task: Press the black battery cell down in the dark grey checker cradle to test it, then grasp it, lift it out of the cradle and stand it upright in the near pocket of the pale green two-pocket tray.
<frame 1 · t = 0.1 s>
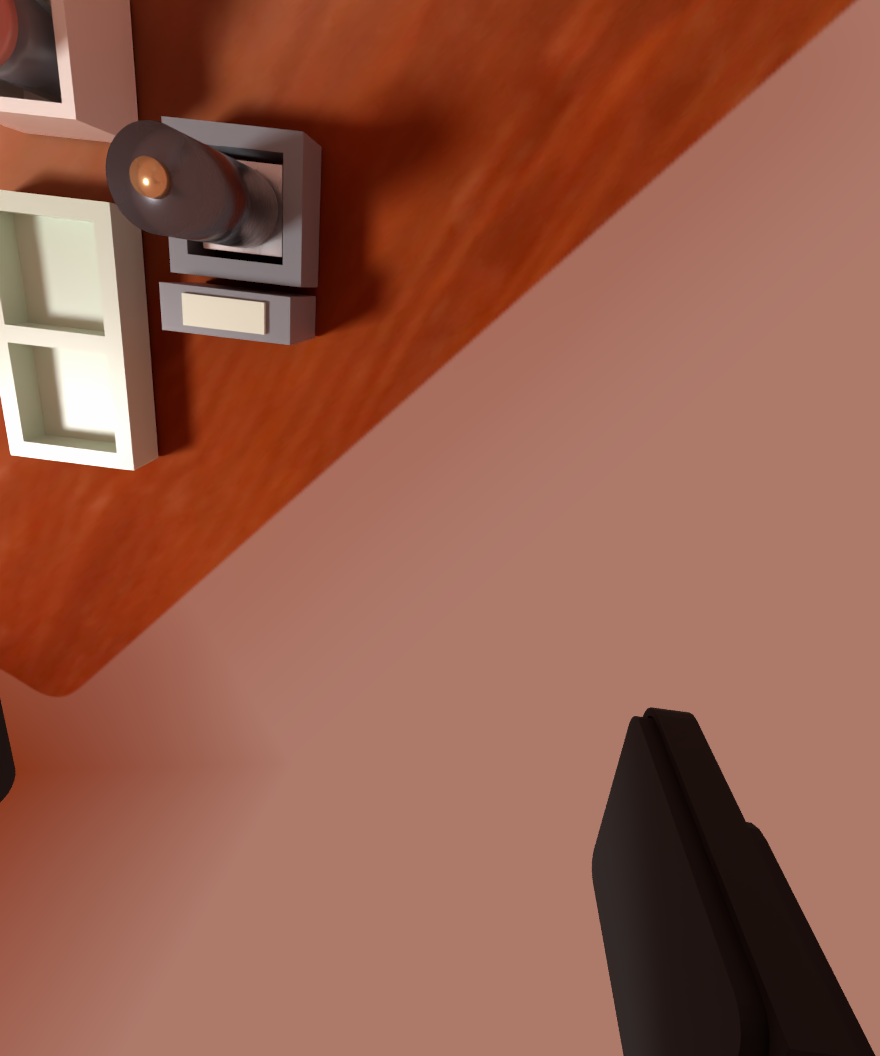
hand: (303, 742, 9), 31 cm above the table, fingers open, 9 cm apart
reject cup: (75, 68, 32), on the table
tray: (87, 335, 38), on the table
pad: (247, 209, 33), point 2 cm above the table, slide at -0.1 cm, touching cell
cell: (241, 207, 32), point 2 cm above the table, touching pad
cradle: (257, 212, 34), on the table
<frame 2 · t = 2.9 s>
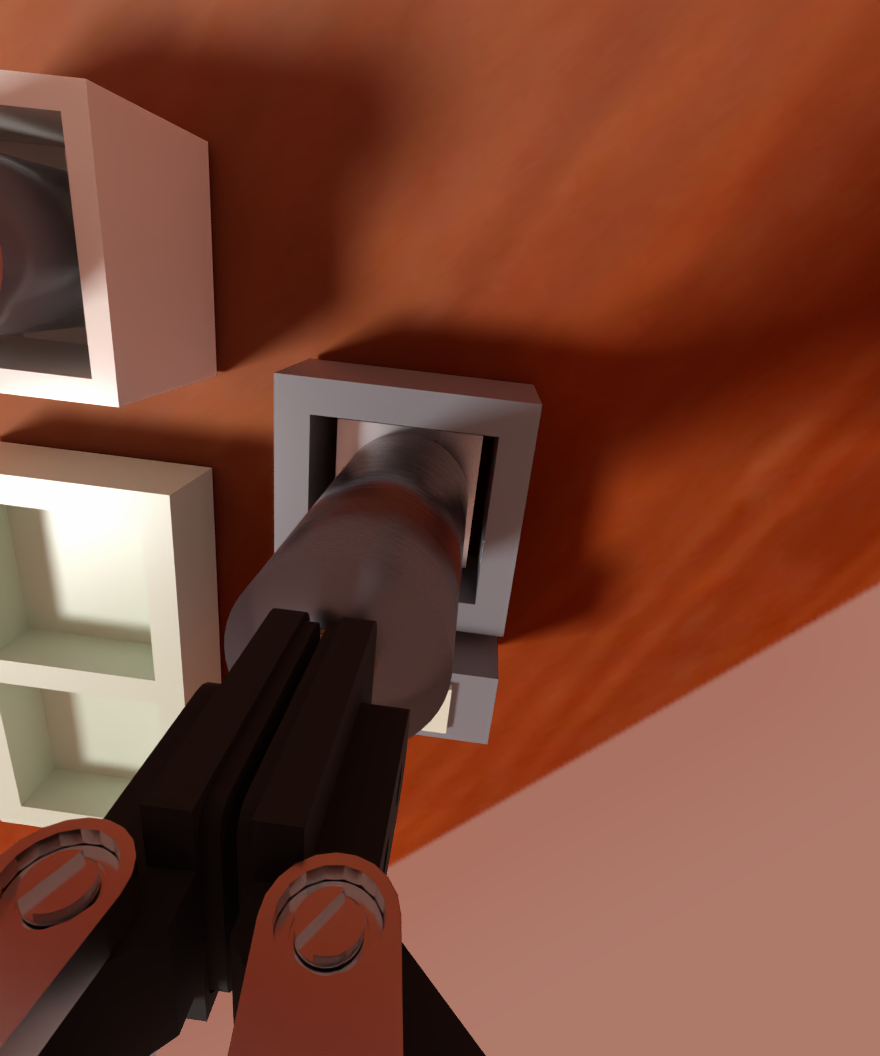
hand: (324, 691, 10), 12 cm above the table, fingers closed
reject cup: (108, 254, 18), on the table
tray: (121, 635, 24), on the table
pad: (407, 488, 19), point 1 cm above the table, slide at -0.6 cm, touching cell
cell: (404, 496, 19), point 2 cm above the table, touching gripper, pad
cradle: (411, 478, 20), on the table
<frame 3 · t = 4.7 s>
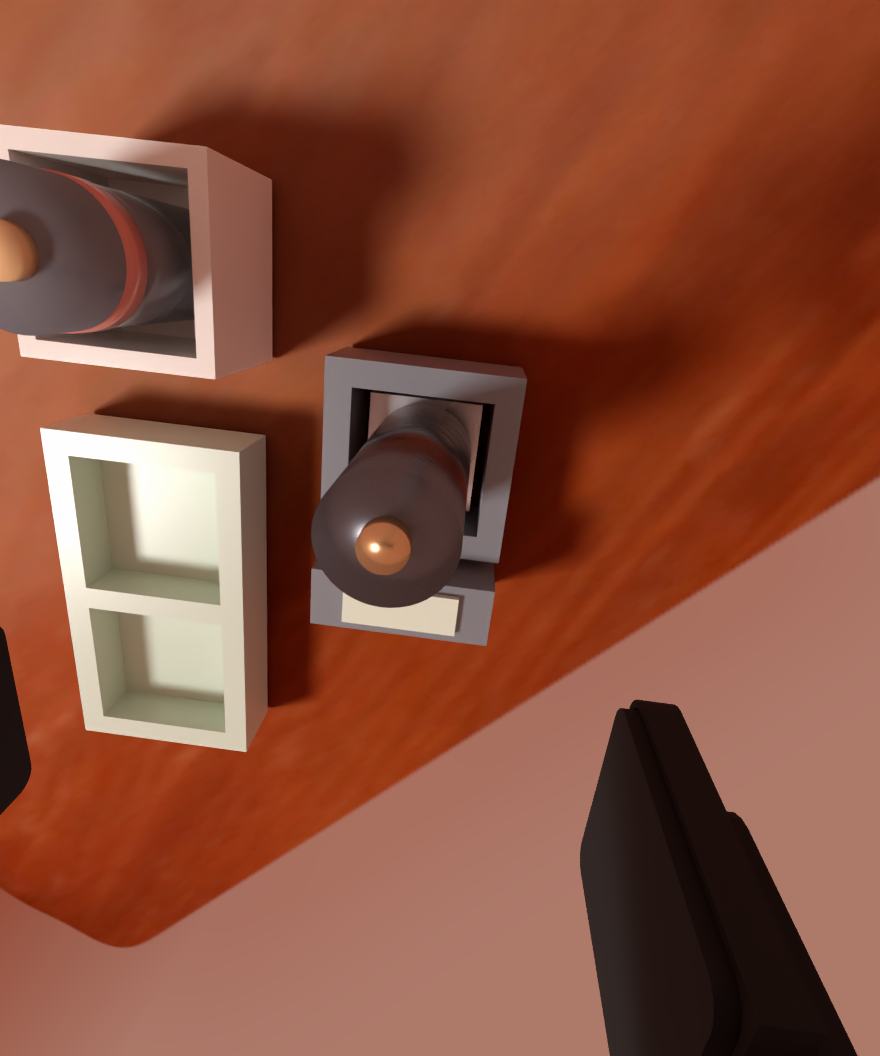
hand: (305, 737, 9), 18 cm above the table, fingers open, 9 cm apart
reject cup: (190, 265, 24), on the table
tray: (185, 576, 29), on the table
pad: (423, 448, 25), point 1 cm above the table, slide at -0.7 cm, touching cell
cell: (421, 453, 24), point 2 cm above the table, touching pad
cradle: (425, 443, 26), on the table
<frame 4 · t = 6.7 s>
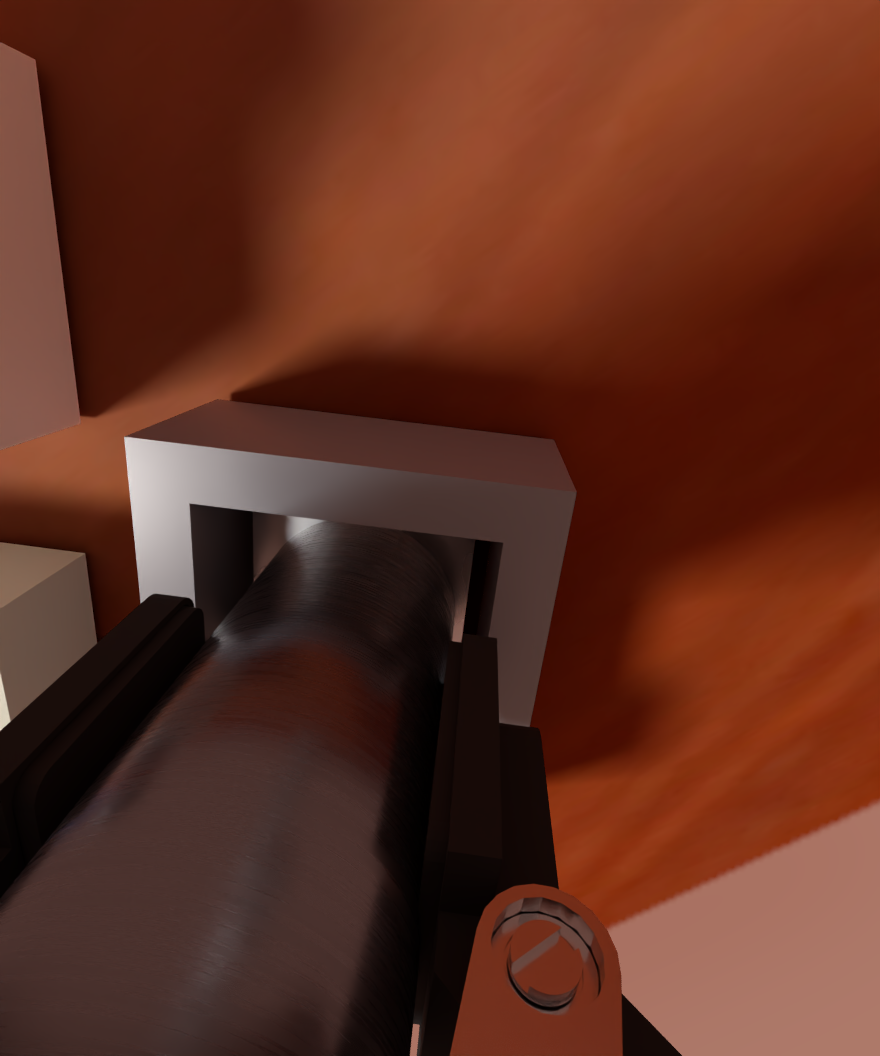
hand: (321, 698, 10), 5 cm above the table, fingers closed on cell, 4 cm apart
pad: (365, 591, 13), point 1 cm above the table, slide at -0.7 cm, touching cell
cell: (358, 608, 12), point 2 cm above the table, touching gripper, pad
cradle: (373, 571, 14), on the table
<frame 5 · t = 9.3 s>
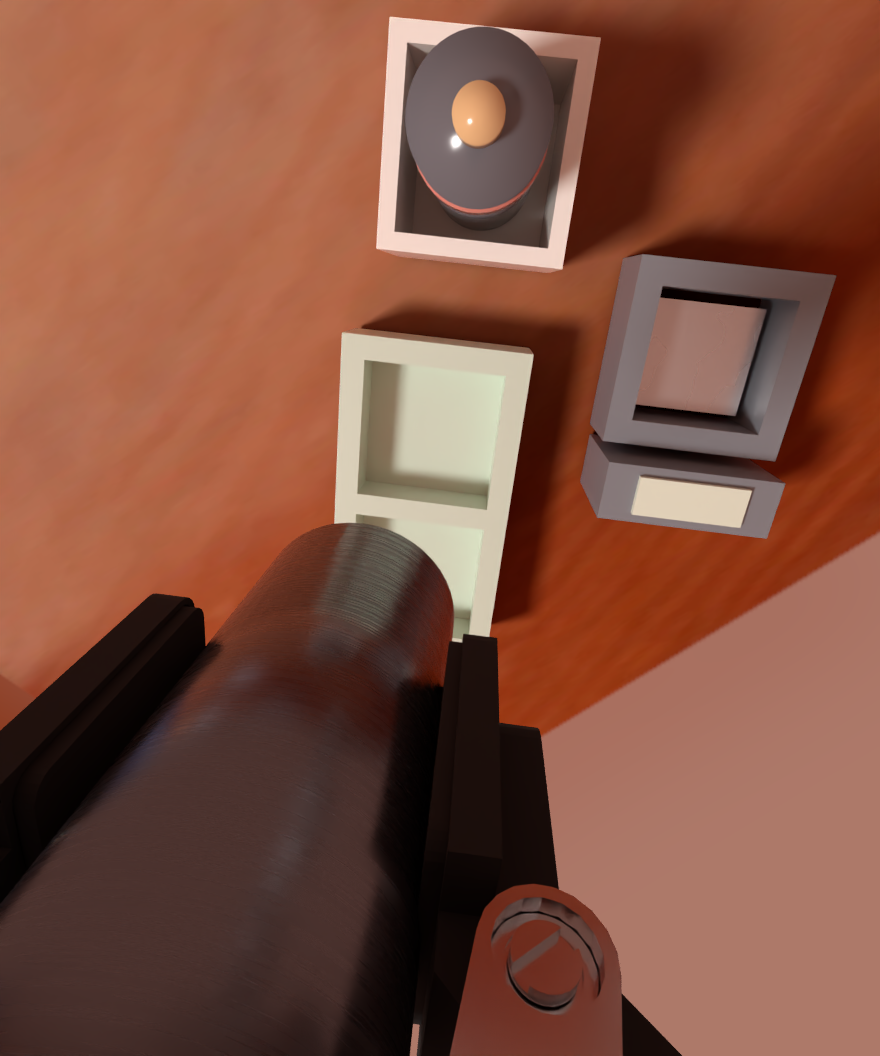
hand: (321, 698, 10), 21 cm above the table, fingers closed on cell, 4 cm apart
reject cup: (482, 178, 25), on the table
tray: (427, 491, 30), on the table
pad: (692, 356, 26), point 1 cm above the table, slide at -0.7 cm
cell: (358, 612, 12), point 18 cm above the table, touching gripper
cradle: (685, 354, 27), on the table
when the fingers open (5 cm above the table, at t = 12.0 s): cell stays where it is, resting on tray.
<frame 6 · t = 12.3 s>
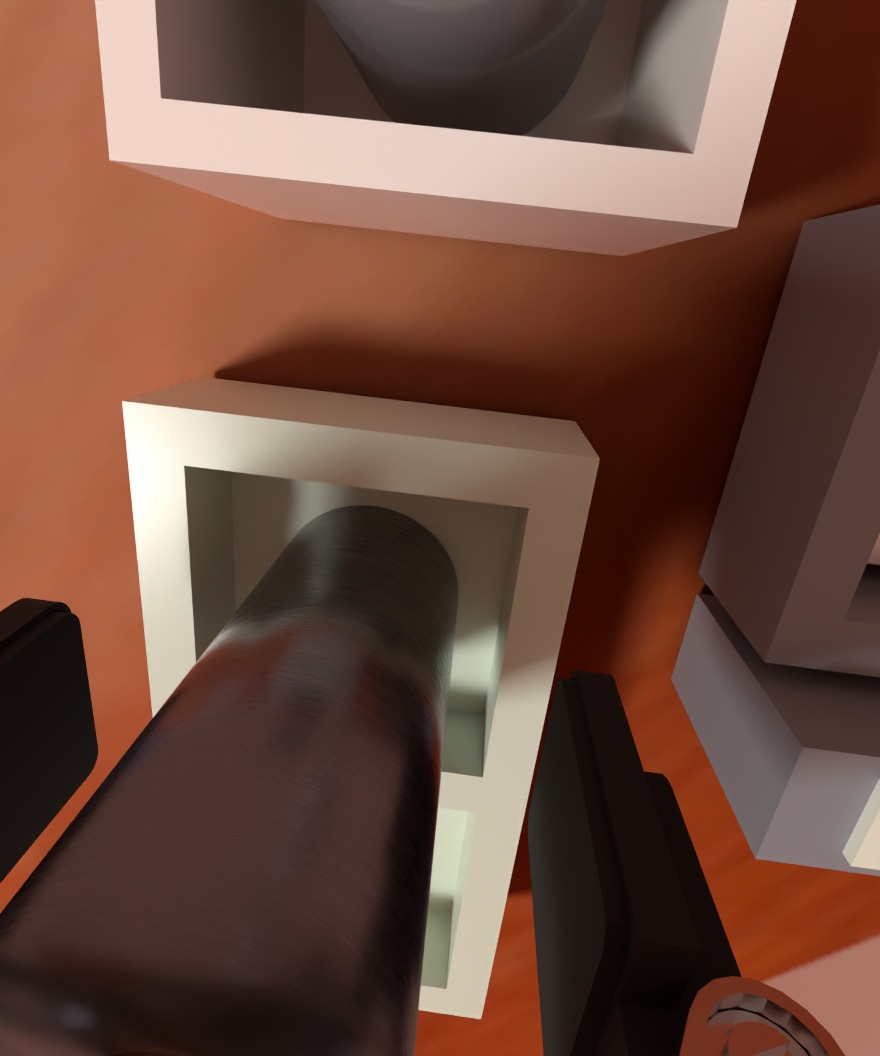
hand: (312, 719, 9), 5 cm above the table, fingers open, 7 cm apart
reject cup: (471, 23, 10), on the table
tray: (366, 688, 15), on the table
cell: (368, 590, 13), point 1 cm above the table, touching tray
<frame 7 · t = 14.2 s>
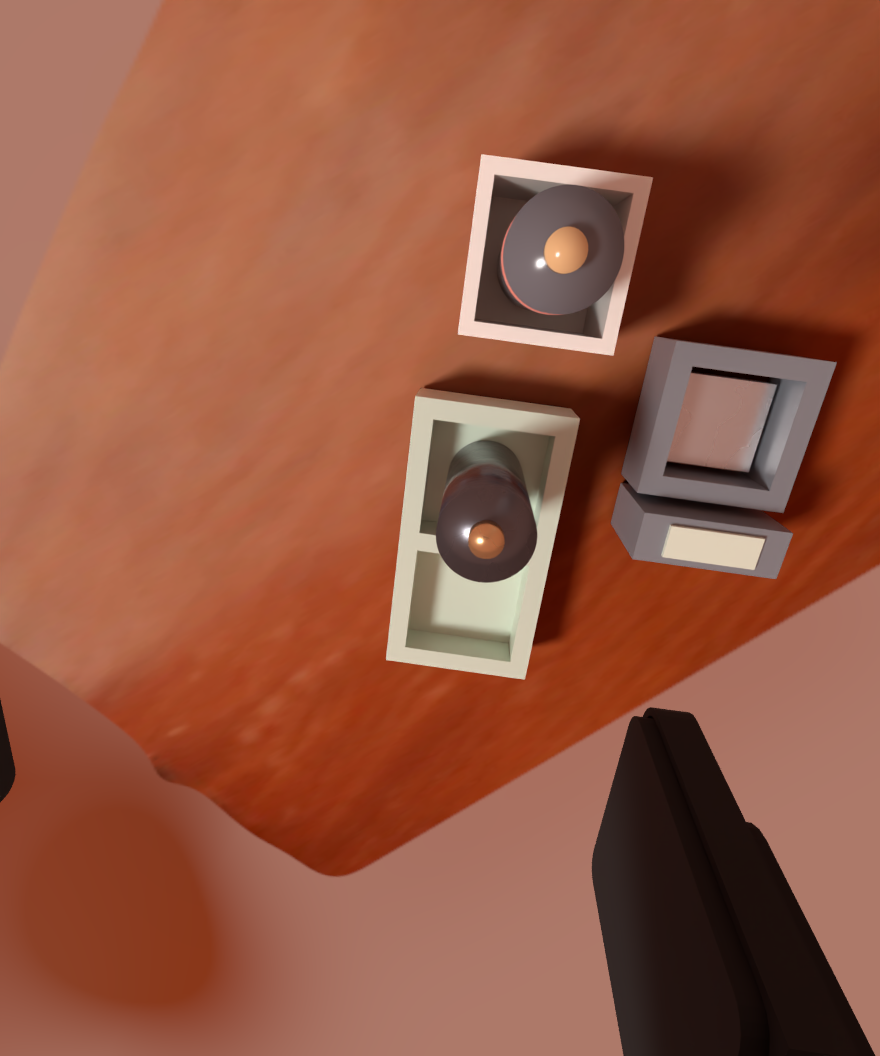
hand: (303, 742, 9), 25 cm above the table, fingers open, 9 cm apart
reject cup: (537, 267, 29), on the table
tray: (474, 529, 34), on the table
pad: (712, 420, 30), point 1 cm above the table, slide at -0.7 cm
cell: (484, 477, 32), point 1 cm above the table, touching tray
cradle: (705, 417, 31), on the table
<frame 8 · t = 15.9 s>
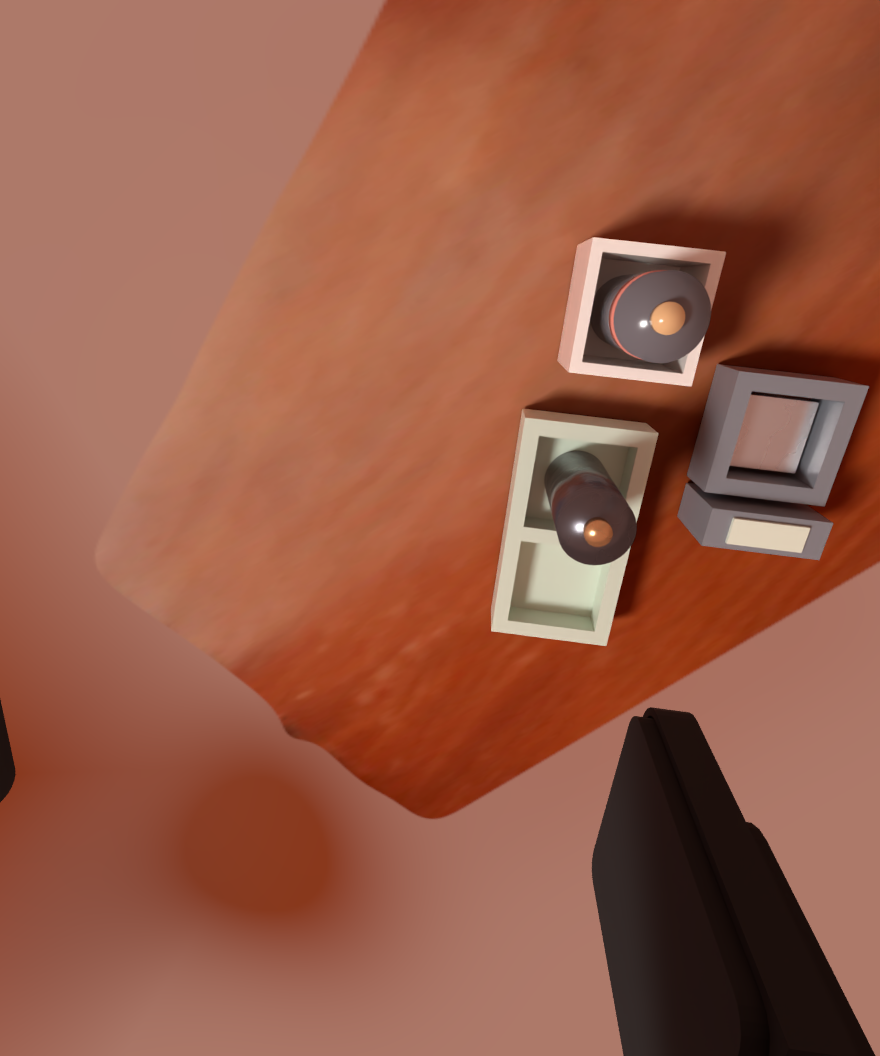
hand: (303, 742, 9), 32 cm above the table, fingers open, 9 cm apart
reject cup: (621, 311, 36), on the table
tray: (563, 522, 41), on the table
pad: (765, 431, 37), point 1 cm above the table, slide at -0.7 cm
cell: (575, 480, 39), point 1 cm above the table, touching tray
cradle: (758, 428, 38), on the table
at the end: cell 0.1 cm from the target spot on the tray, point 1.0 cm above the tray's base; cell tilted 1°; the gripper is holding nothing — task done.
